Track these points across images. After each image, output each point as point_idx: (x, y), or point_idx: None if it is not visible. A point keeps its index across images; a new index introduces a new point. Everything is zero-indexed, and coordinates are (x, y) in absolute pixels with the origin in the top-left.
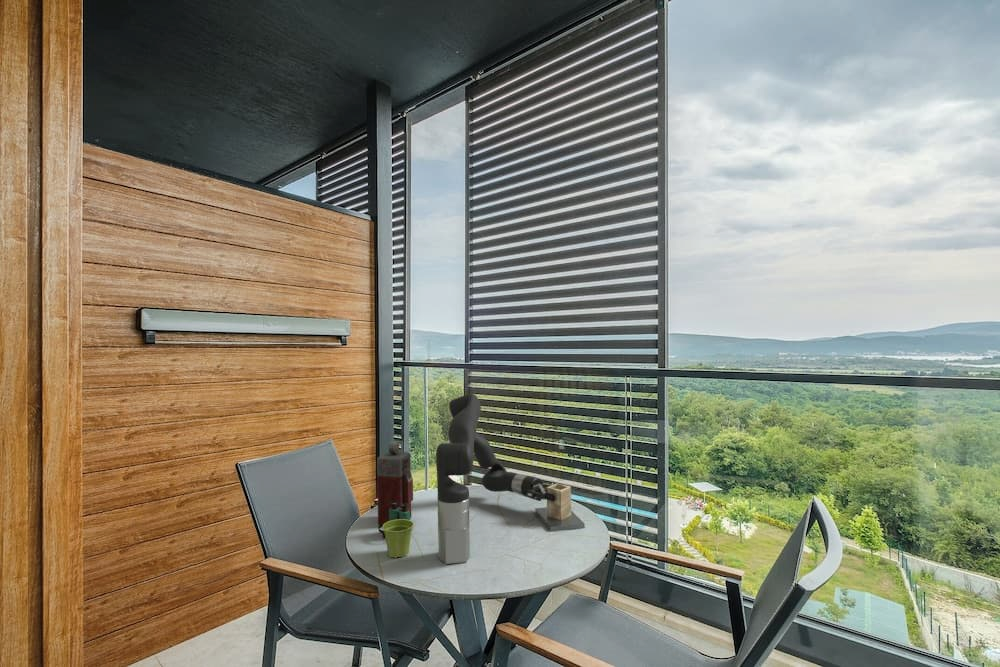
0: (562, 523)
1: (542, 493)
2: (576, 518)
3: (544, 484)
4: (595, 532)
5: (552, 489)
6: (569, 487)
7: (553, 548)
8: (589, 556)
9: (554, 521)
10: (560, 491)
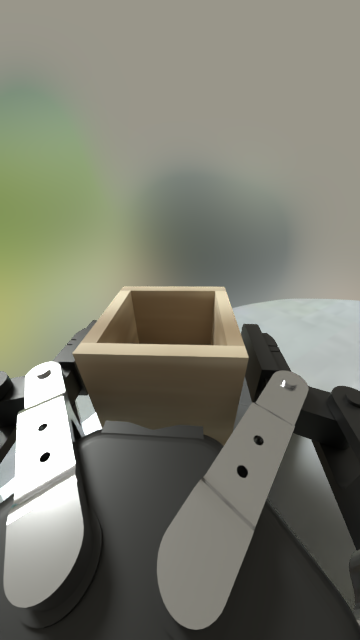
0: None
1: (304, 396)
2: None
3: (84, 518)
4: None
5: (234, 322)
6: (136, 287)
7: (345, 346)
8: (288, 304)
9: (244, 410)
10: (224, 291)
